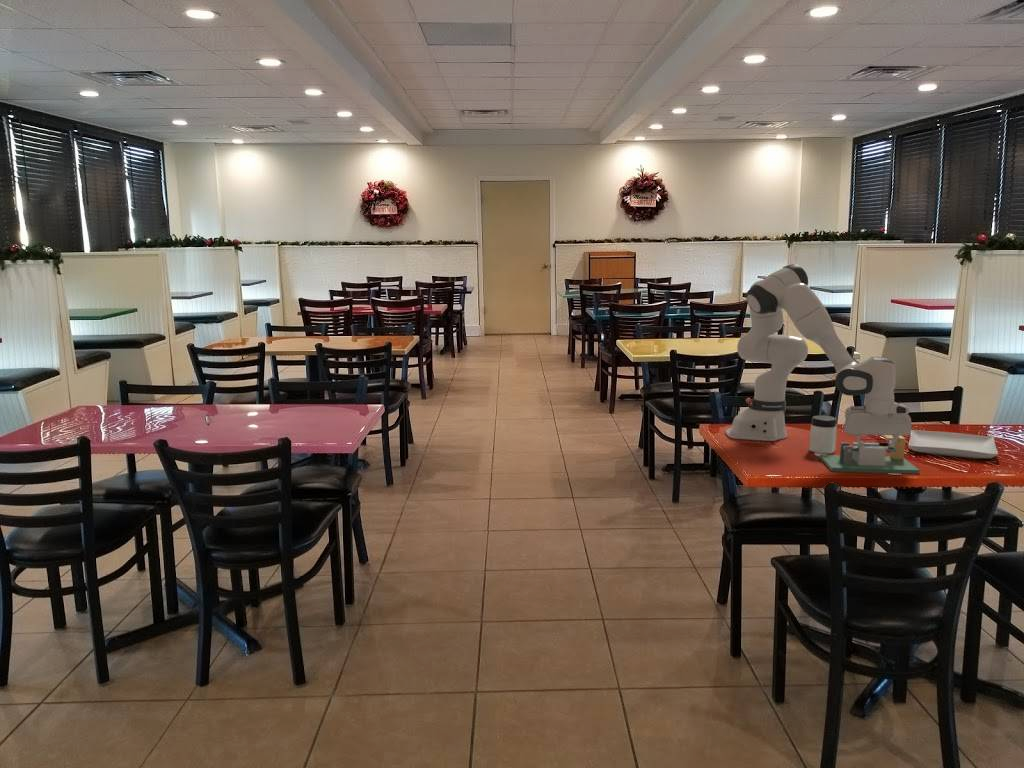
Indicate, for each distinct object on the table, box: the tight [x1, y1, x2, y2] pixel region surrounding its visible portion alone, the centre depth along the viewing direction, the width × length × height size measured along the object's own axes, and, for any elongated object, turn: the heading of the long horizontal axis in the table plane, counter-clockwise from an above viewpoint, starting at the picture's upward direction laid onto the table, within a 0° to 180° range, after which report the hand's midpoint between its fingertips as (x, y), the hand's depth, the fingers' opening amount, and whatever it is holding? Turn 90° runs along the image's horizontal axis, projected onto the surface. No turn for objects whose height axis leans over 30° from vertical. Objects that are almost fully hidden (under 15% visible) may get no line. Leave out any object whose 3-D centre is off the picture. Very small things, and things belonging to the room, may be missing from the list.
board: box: [818, 441, 921, 475], centre depth 263 cm, size 27×16×7 cm, turn 83°
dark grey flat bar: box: [842, 445, 896, 453], centre depth 263 cm, size 16×3×1 cm, turn 83°
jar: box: [809, 415, 838, 455], centre depth 282 cm, size 9×8×12 cm
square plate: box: [908, 429, 999, 460], centre depth 284 cm, size 27×27×4 cm
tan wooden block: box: [882, 435, 906, 460], centre depth 268 cm, size 6×4×7 cm
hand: (876, 447), depth 262 cm, fingers open, 8 cm apart
